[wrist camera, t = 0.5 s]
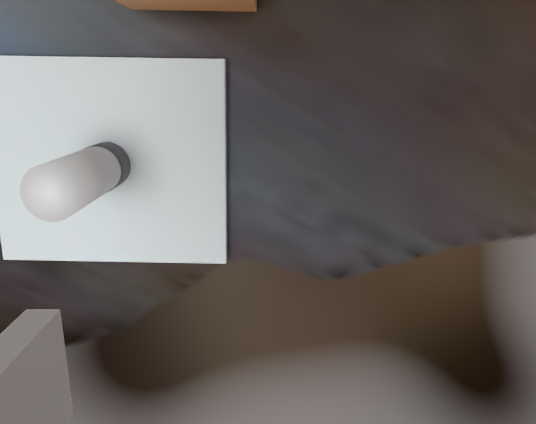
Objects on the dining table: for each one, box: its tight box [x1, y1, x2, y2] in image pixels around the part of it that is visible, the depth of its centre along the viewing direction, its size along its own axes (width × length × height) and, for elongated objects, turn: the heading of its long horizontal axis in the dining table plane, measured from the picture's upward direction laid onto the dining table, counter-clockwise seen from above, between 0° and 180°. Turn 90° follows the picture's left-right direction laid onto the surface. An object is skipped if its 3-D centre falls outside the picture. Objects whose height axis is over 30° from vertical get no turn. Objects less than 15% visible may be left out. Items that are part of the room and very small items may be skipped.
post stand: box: [0, 56, 227, 264], centre depth 30 cm, size 14×16×10 cm
